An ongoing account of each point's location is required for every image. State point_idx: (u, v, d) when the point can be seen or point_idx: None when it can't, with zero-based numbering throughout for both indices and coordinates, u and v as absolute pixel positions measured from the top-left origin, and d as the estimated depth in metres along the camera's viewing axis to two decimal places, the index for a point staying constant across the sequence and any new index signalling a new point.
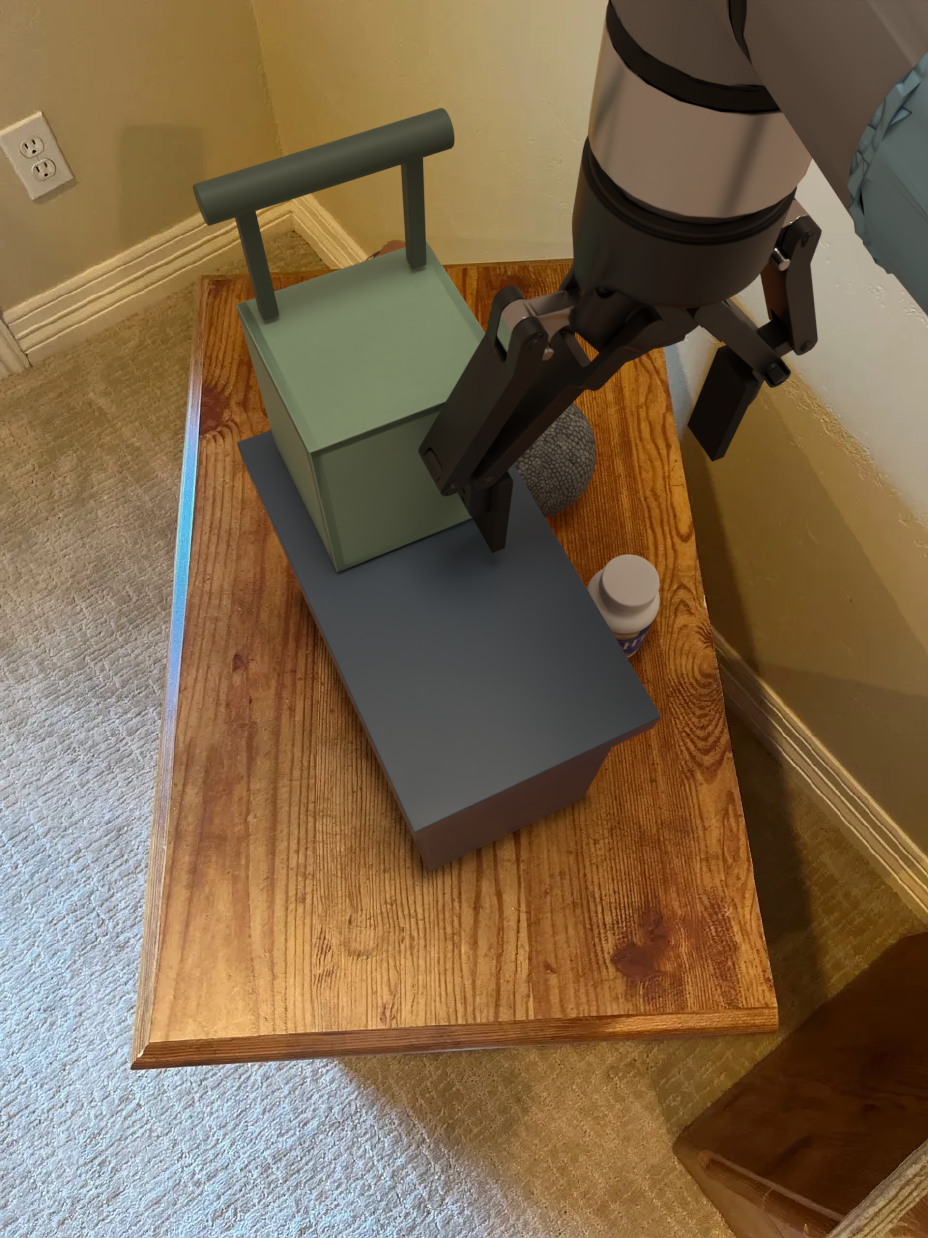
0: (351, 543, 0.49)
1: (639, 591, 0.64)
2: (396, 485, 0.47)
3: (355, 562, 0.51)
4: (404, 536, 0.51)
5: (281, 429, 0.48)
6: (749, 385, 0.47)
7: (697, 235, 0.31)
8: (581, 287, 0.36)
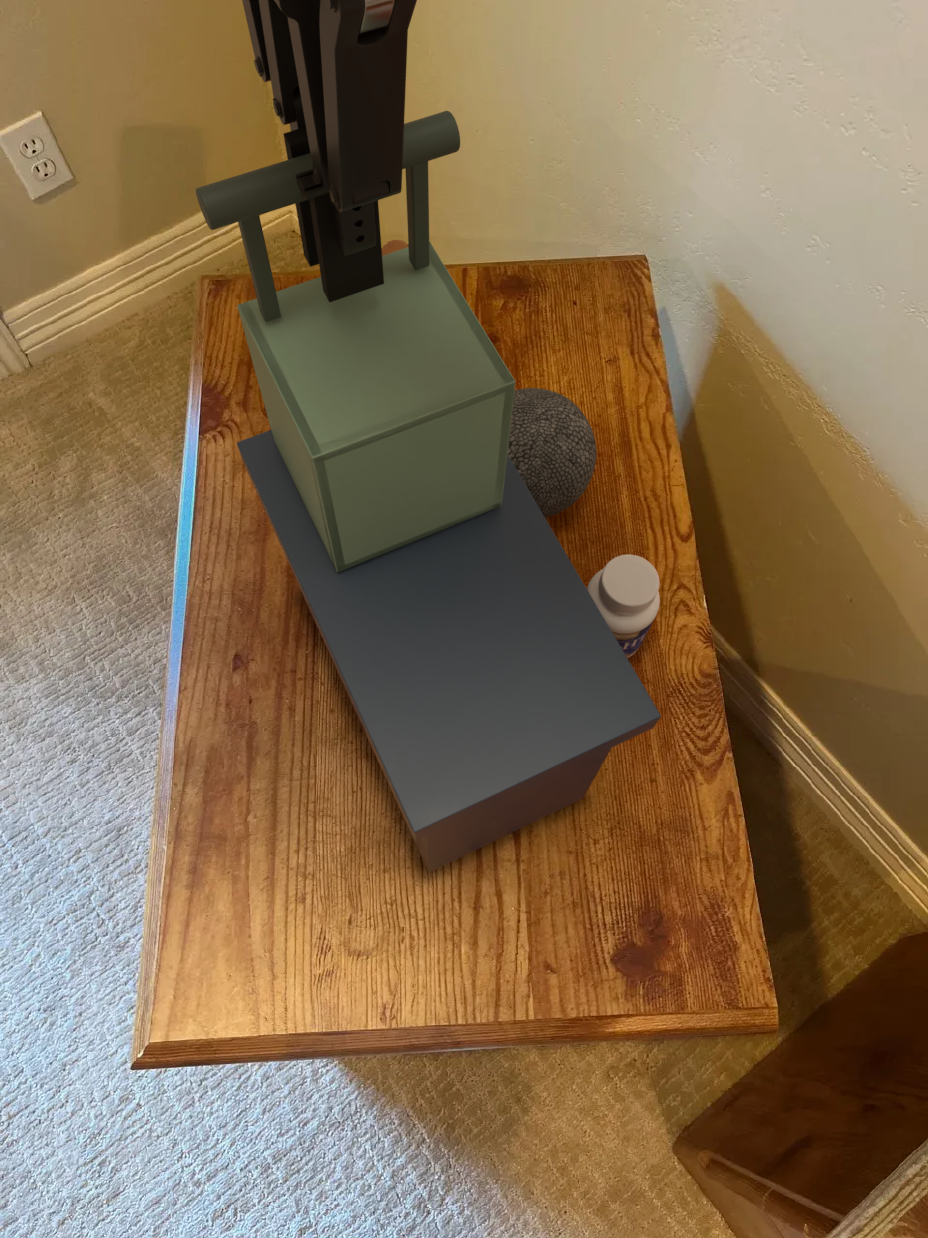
0: (352, 544, 0.49)
1: (639, 591, 0.64)
2: (397, 488, 0.47)
3: (355, 562, 0.51)
4: (404, 536, 0.51)
5: (282, 430, 0.48)
6: None
7: None
8: None
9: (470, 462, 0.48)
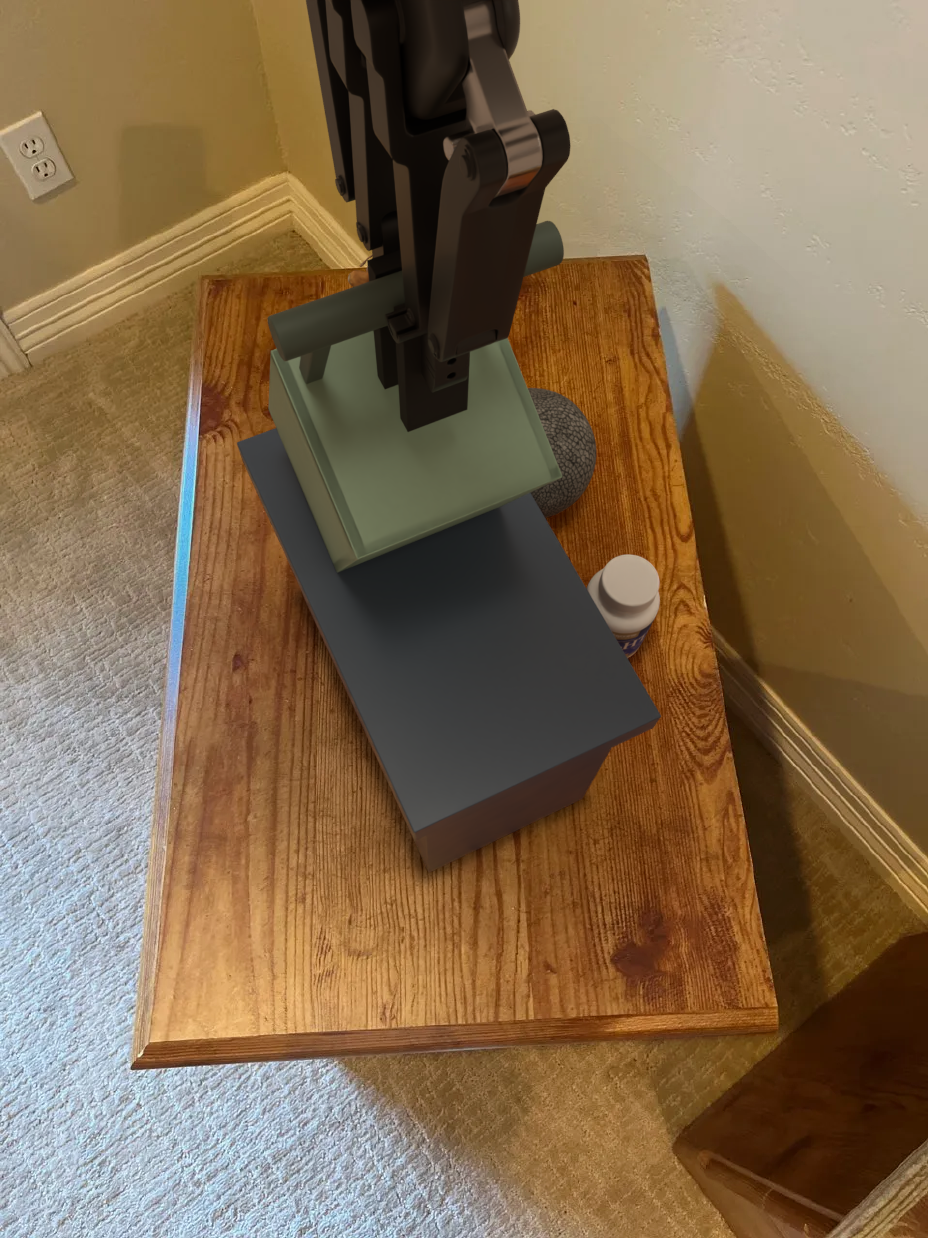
0: None
1: (639, 591, 0.64)
2: (420, 536, 0.46)
3: (356, 564, 0.51)
4: (407, 543, 0.51)
5: (299, 455, 0.45)
6: None
7: None
8: None
9: (492, 508, 0.47)
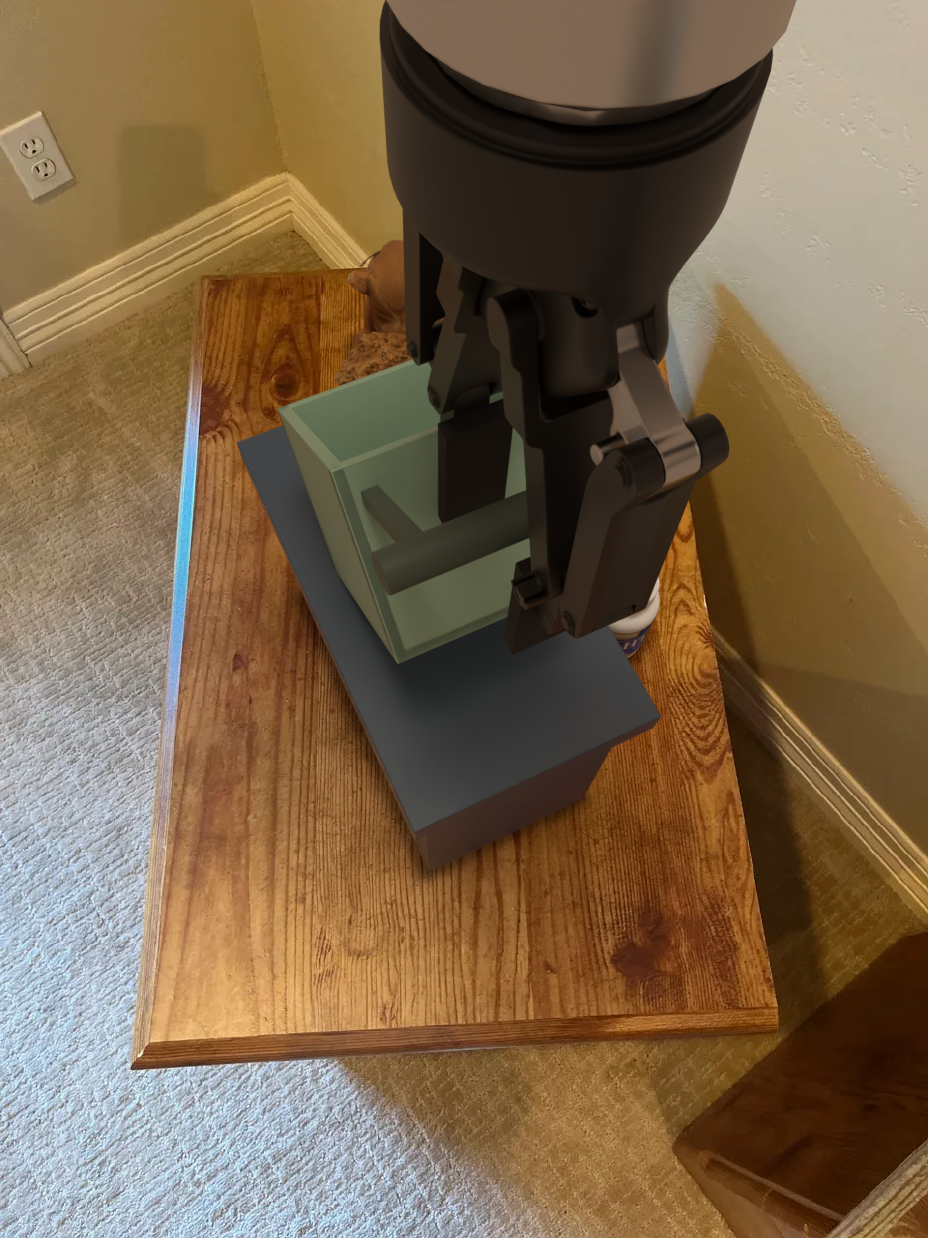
0: None
1: None
2: None
3: None
4: None
5: (328, 513, 0.44)
6: None
7: None
8: (640, 316, 0.20)
9: None
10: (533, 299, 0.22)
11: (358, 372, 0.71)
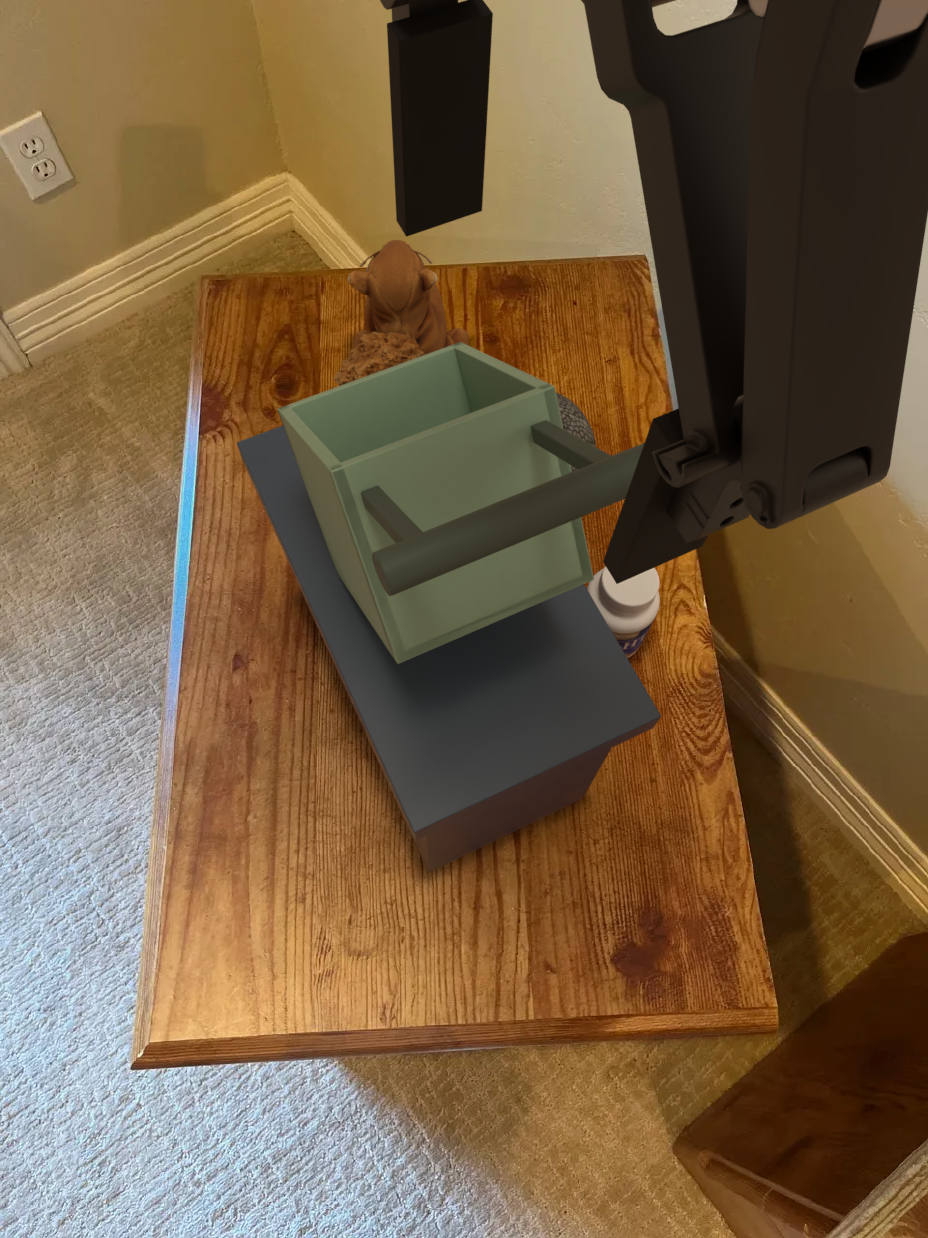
0: None
1: (639, 591, 0.64)
2: None
3: None
4: None
5: (329, 513, 0.44)
6: (487, 9, 0.25)
7: None
8: None
9: None
10: None
11: (358, 372, 0.71)
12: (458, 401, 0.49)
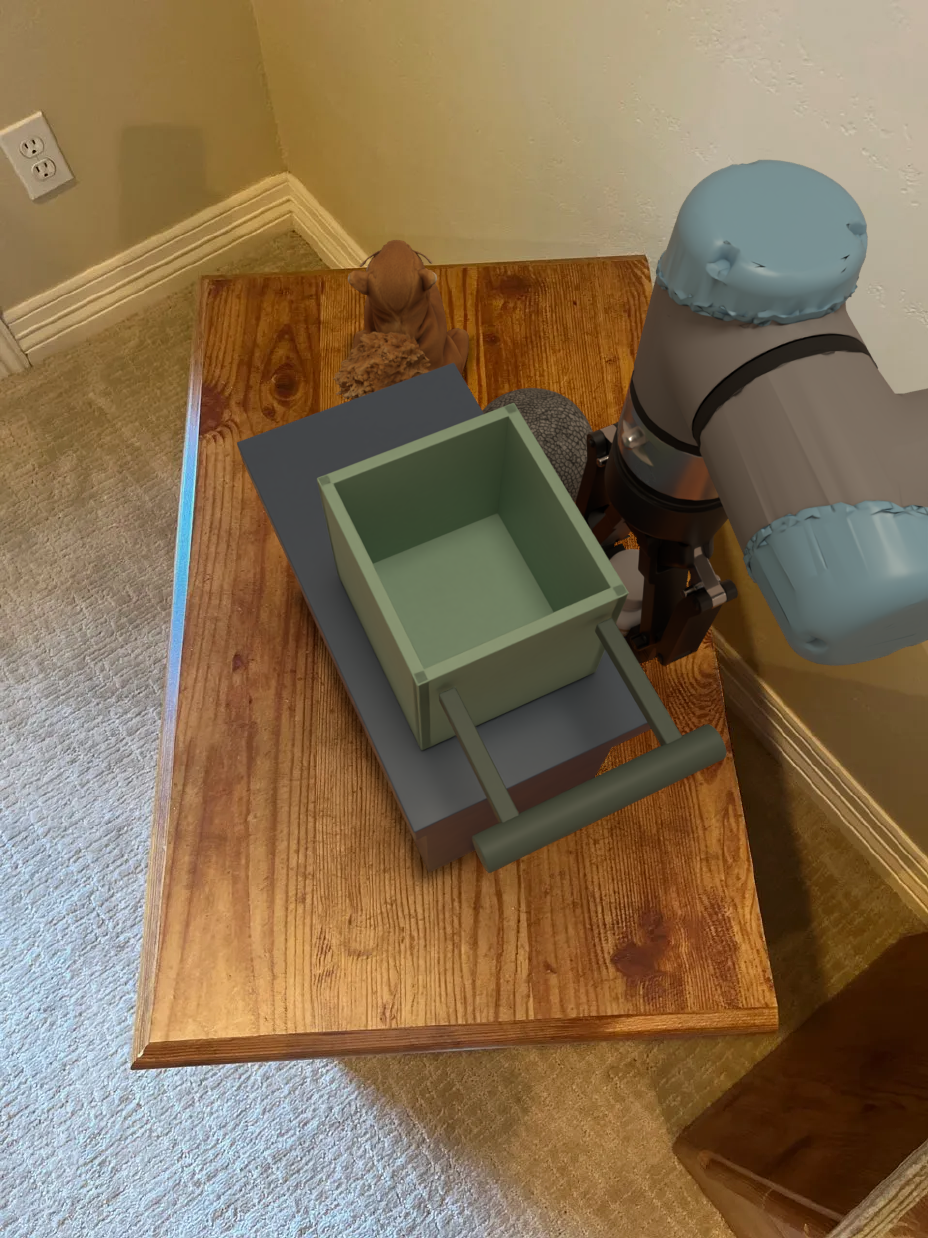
0: None
1: None
2: None
3: None
4: None
5: (372, 618, 0.44)
6: (624, 549, 0.66)
7: None
8: (703, 544, 0.53)
9: None
10: None
11: (358, 372, 0.71)
12: (496, 452, 0.47)
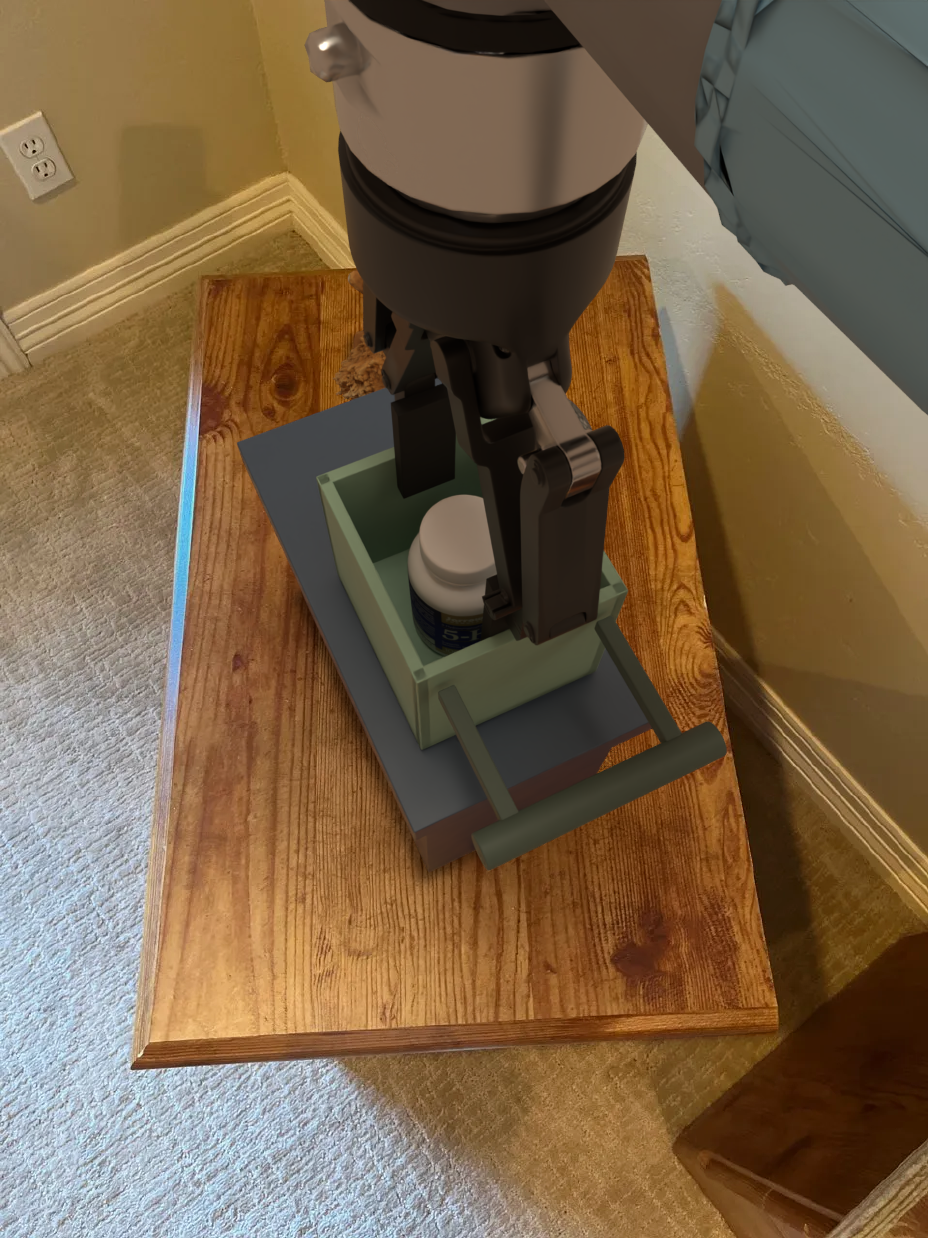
0: None
1: (475, 550, 0.41)
2: None
3: None
4: None
5: (371, 617, 0.44)
6: None
7: None
8: (546, 357, 0.26)
9: None
10: (466, 342, 0.28)
11: (358, 372, 0.71)
12: None
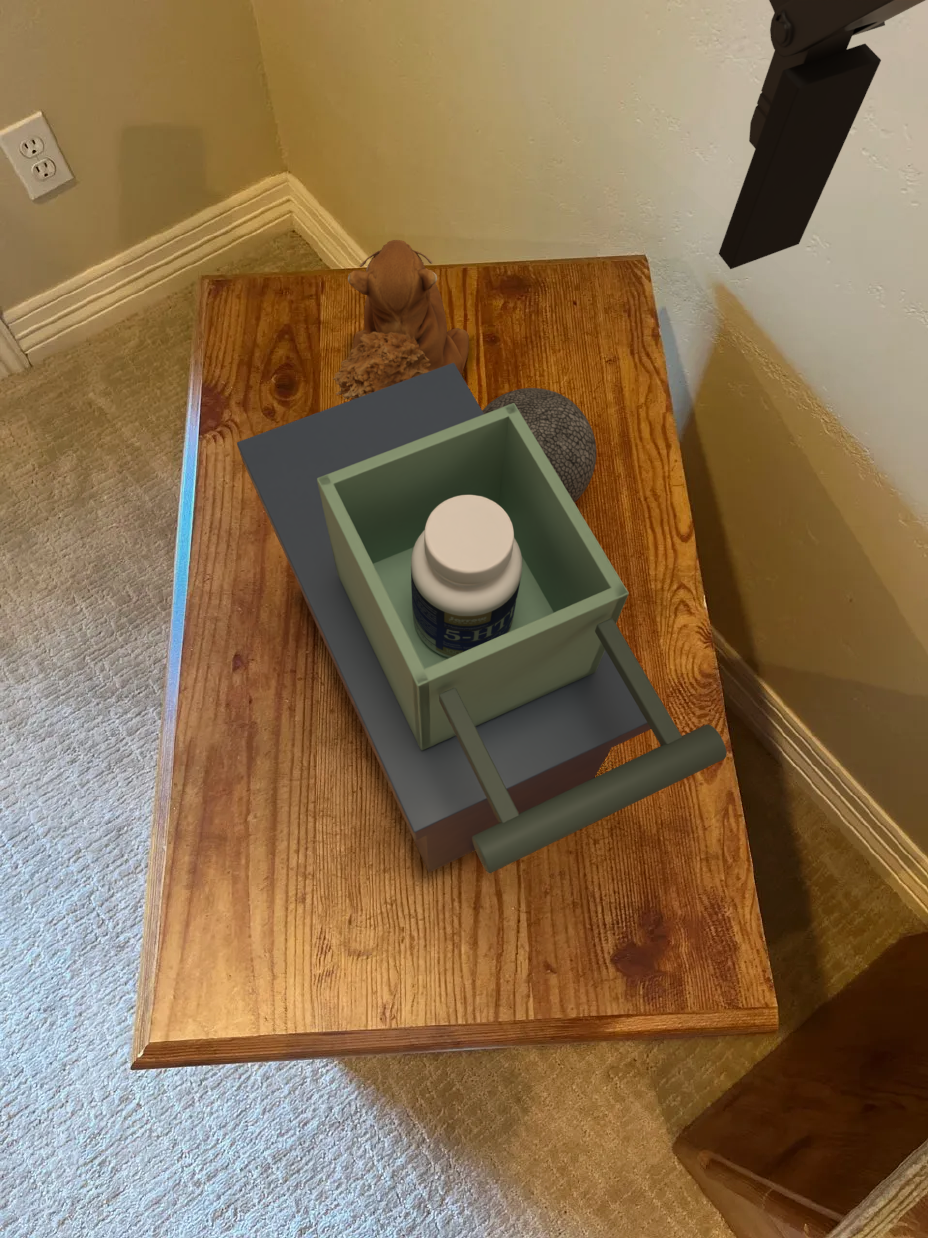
0: None
1: (481, 550, 0.41)
2: None
3: None
4: None
5: (372, 618, 0.44)
6: (874, 56, 0.26)
7: None
8: None
9: None
10: None
11: (358, 372, 0.71)
12: (496, 452, 0.47)
